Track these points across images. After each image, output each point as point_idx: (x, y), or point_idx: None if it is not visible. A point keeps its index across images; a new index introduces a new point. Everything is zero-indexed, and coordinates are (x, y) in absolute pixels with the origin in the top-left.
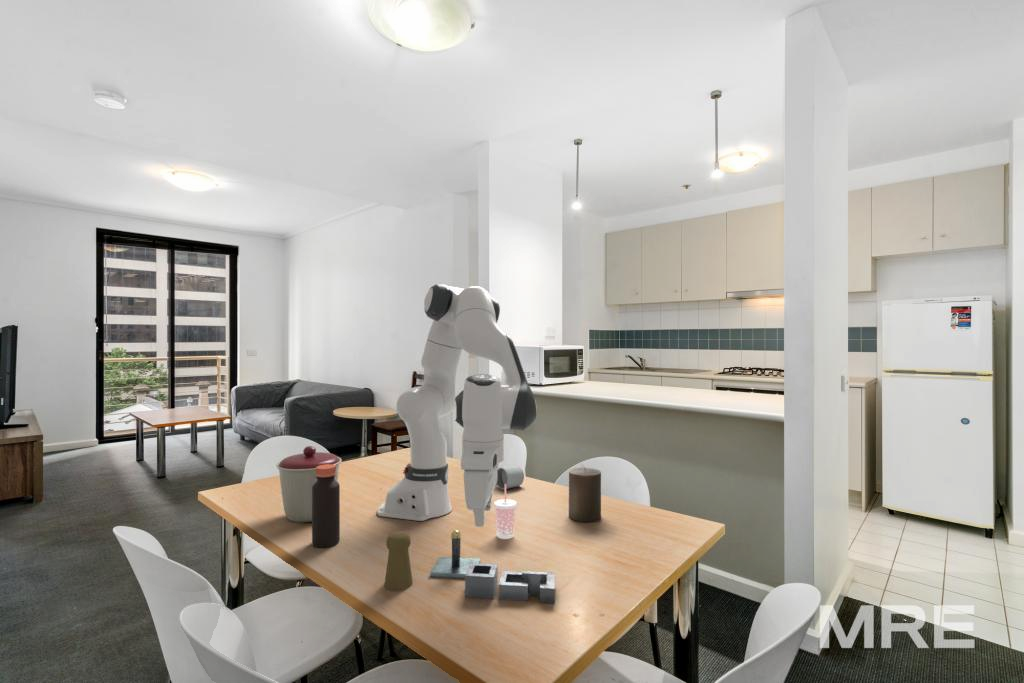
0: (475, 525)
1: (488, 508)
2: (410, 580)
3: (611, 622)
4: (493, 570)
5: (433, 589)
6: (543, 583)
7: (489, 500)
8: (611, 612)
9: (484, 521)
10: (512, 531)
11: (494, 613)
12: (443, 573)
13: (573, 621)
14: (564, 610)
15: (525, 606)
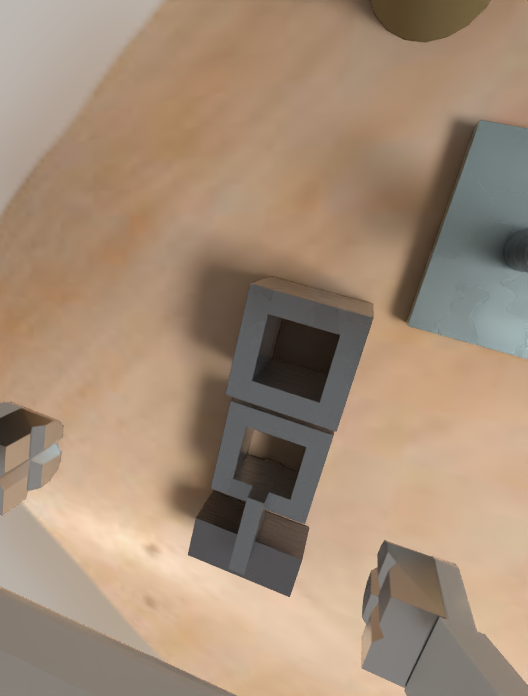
0: (10, 402)
1: (365, 596)
2: (406, 22)
3: (120, 604)
4: (279, 403)
5: (350, 150)
6: (222, 537)
7: (414, 688)
8: (157, 624)
9: (28, 483)
10: None
11: (171, 357)
12: (455, 188)
13: (126, 534)
14: (172, 534)
15: (199, 448)
